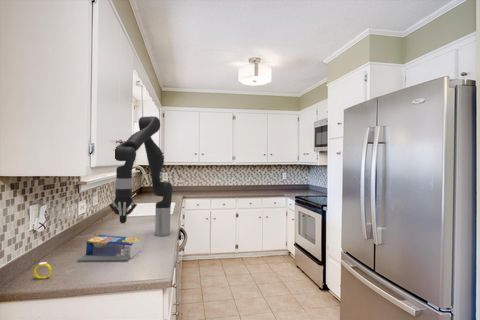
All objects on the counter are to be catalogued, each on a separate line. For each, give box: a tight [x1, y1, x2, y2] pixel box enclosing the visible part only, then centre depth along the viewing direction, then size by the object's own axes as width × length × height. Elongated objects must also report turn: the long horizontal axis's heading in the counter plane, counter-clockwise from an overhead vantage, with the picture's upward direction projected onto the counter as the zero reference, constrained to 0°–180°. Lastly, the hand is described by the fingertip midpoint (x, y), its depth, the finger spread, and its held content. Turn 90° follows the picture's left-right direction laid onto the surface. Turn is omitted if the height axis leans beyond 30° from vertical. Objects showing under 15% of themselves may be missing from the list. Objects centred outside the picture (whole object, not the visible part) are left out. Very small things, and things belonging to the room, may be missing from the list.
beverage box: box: [85, 234, 142, 260], centre depth 139 cm, size 7×11×22 cm
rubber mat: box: [76, 253, 131, 263], centre depth 136 cm, size 16×22×1 cm
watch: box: [33, 261, 53, 280], centre depth 110 cm, size 6×3×6 cm, turn 97°
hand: (122, 223), depth 137 cm, fingers closed
